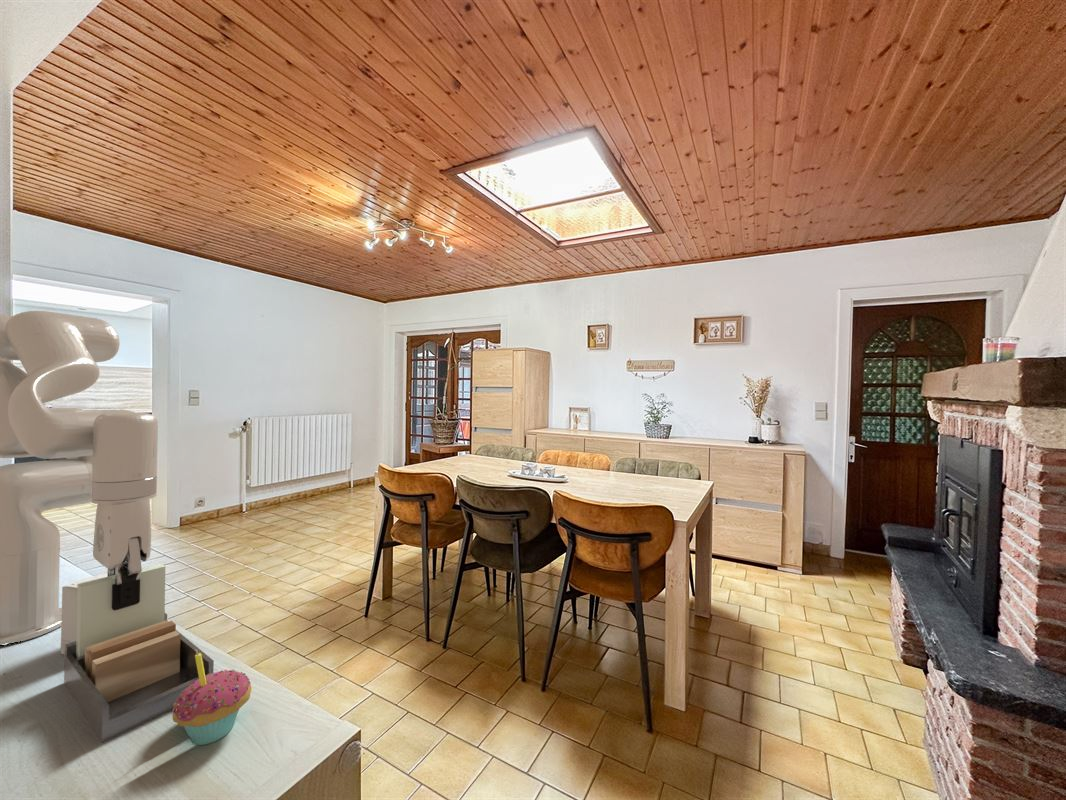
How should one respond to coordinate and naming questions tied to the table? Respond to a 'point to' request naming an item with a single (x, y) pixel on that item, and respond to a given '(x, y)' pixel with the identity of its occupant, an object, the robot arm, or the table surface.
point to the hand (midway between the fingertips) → (123, 603)
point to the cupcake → (211, 703)
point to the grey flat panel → (107, 623)
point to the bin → (134, 705)
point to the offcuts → (133, 659)
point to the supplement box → (71, 611)
